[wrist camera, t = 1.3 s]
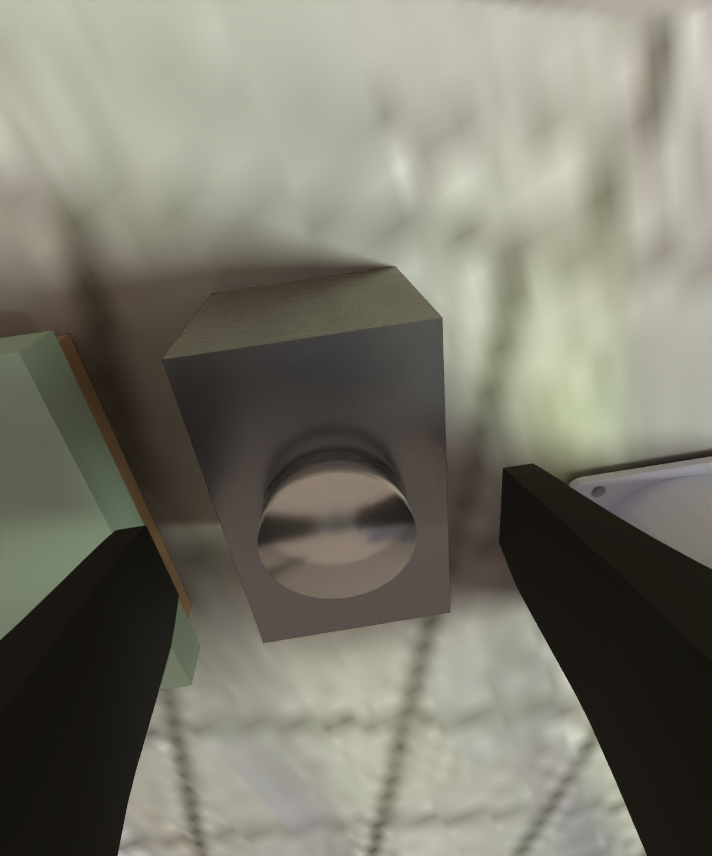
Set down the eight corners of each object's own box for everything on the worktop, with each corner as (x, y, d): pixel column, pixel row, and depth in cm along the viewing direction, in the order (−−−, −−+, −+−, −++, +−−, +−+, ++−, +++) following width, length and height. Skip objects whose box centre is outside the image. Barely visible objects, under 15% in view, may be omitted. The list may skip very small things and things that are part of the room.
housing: (395, 265, 12) (458, 335, 7) (412, 495, 16) (461, 646, 11) (212, 292, 12) (143, 382, 7) (274, 517, 16) (260, 679, 11)
